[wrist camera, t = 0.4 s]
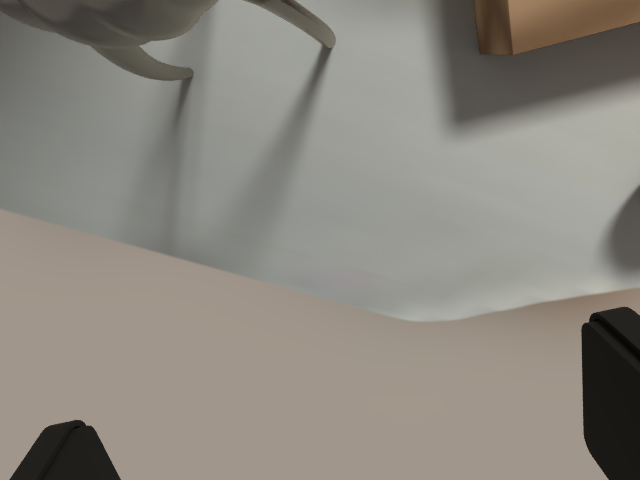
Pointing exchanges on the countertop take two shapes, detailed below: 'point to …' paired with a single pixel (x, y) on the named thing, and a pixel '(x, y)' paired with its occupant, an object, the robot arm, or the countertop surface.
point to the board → (546, 22)
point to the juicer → (142, 26)
